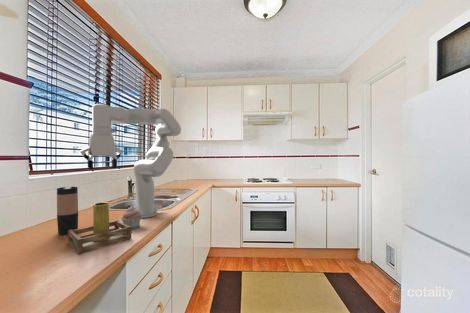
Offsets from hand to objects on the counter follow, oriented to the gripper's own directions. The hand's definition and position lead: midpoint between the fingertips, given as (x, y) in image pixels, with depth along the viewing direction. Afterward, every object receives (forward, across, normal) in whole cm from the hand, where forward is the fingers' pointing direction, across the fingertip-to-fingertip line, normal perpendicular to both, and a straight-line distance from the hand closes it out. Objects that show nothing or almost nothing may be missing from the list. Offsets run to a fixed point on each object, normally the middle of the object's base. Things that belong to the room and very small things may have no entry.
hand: (102, 168), depth 104 cm
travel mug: (+28, +12, -8) cm, 32 cm away
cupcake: (+28, -10, +7) cm, 31 cm away
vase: (+28, +6, +15) cm, 32 cm away
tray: (+28, +6, +15) cm, 32 cm away
